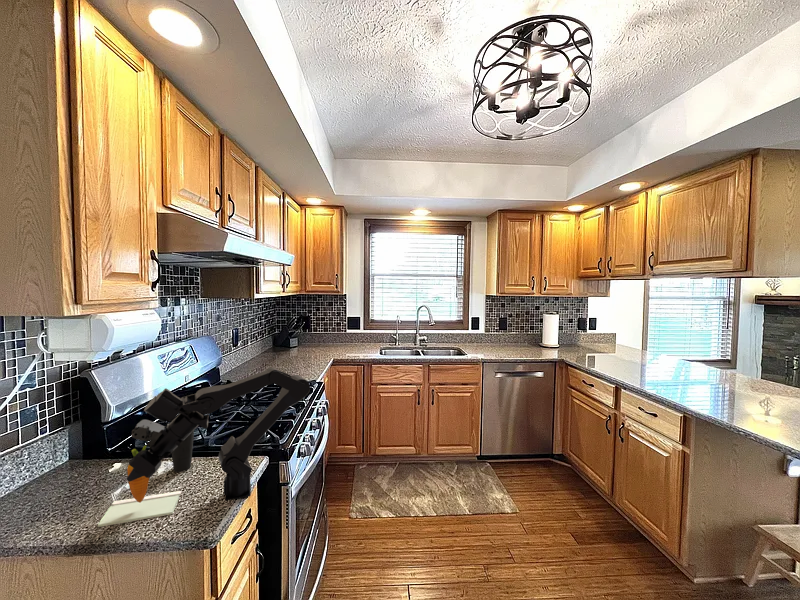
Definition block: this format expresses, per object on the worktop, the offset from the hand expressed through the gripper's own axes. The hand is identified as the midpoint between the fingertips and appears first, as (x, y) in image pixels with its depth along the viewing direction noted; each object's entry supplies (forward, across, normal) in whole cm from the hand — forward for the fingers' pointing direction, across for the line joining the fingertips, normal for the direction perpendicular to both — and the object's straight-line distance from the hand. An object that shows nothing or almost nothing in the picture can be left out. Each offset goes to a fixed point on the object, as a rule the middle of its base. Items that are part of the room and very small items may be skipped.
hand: (133, 474), depth 97 cm
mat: (+6, 0, +8) cm, 10 cm away
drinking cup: (+4, -22, +10) cm, 25 cm away
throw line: (+6, -6, +8) cm, 12 cm away
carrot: (+5, 0, +6) cm, 8 cm away
